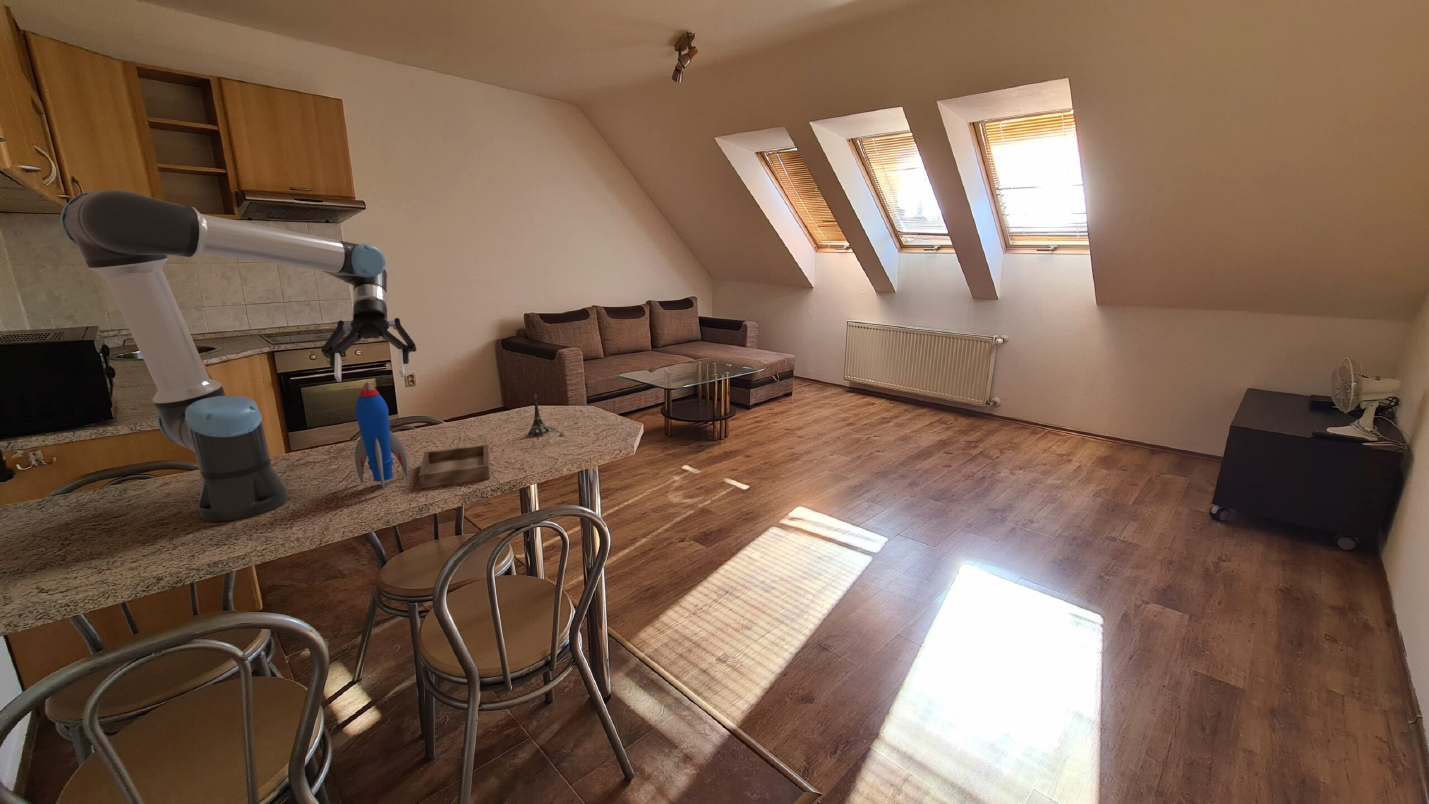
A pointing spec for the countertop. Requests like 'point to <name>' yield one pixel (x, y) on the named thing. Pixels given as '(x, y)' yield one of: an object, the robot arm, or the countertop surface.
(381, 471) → the toy rocket
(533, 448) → the countertop surface
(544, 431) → the eiffel tower figurine
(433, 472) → the cradle
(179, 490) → the countertop surface
